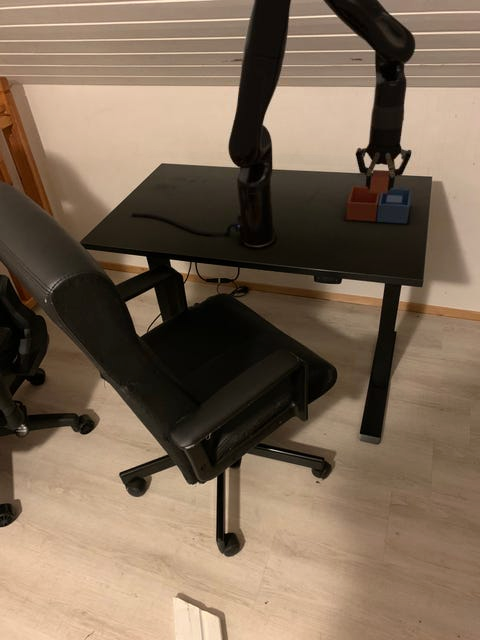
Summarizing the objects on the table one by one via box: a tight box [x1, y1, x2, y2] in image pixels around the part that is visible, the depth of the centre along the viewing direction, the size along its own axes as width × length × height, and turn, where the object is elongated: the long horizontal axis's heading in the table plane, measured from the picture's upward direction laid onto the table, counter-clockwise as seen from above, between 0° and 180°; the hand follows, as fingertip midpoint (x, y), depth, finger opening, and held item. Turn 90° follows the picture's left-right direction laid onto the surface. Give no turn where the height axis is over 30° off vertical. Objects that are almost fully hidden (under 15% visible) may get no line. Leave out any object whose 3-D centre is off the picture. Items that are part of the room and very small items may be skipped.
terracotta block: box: [370, 169, 390, 194], centre depth 122 cm, size 4×4×4 cm
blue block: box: [386, 195, 402, 205], centre depth 141 cm, size 4×4×4 cm
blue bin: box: [376, 187, 412, 225], centre depth 141 cm, size 9×11×6 cm
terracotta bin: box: [345, 185, 381, 222], centre depth 143 cm, size 9×11×6 cm
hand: (379, 188), depth 123 cm, fingers closed on terracotta block, 4 cm apart
